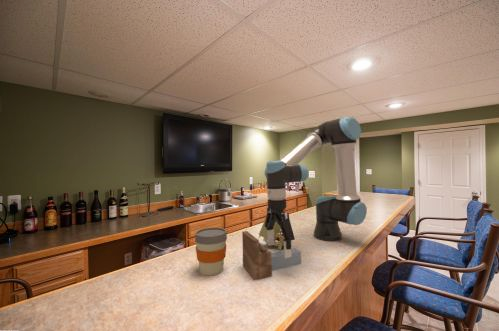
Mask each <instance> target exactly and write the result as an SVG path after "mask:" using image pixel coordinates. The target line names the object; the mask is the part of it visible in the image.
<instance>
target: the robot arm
mask: <svg viewBox="0 0 499 331" xmlns="http://www.w3.org/2000/svg"><path fill="white" fill-rule="evenodd" d="M361 135H362V129H361V125H360V123H359V121H358V120H357V119H356V118H354V117H353V116H345V117H340V118H337V119H333V120H329V121H325V122H322V123H321V124H319V125H318V126H316V127H315V128H314V129H312V130H311V131H310V132H309V133H307V135H306V136H305V137H306V138H304V139H303V140H302V141H301V142H300V143H299V144H297V145H296V146H295V147H293V148H292V149H291V150H290V151H289V152H288V153H286V154H285V155H284V156H283V157H282V158H280V159H279V160H269V161H267V162H266V165H265V166H266V168H265V169H264V176H265V178H266V194H267V208H266V216H265V218H266V220H265V219H264V221H265V227H266V229H267V234H268V245H267V246H275V245H274V230H273V229H274V228H273V226H274V224H275V222H277V224H278V225H279V226H280V228H281V229H280V230H281V231H282V233H283V236H284V240H283V241H284V247H283V251H284V258H288V257H291V249H292V241H294V240H295V239H296V237H295V233H294V230H293V227H292V224H291V220H290V213H289V212H286V213H285V210H286V208H287V199H286V198H287V190H286V189H287V188H286V185H287V184H289V183H302V182H305V181H306V180H308V177H309V169H308V168H307V166H306V165H304V164H300V163H301V162H302V161H303V160H304V159H305V158H306V157H308V156H309V155H310V154H311V153H312V152H313V151H314V150H316V149H319V148H320V147H321V146H323V145H326V144H331V147H333V149H334V151H335V165H336V166H335V167H336V179H337V180H336V181H337V191H338V192H337V193H338V194H337V195H326V196H325V195H324V196H318V197H317V198H316V200H315V215H316V217H315V218H316V219H315V220H316V223H315V226H314V230H313V237H314V238H315V239H318V240H320V241H328V242H335V241H337V242H338V241H340V240H342V238H343V234H342V232H341V228H340V225H339V222H340V223H345V224H348V225H349V226H350V225H354V226H359V225H360V224H362V223H363V222H364V221H365V220H366V216H367V212H368V211H367V210H368V209H367V208H368V207H367V205H366V204H365V203H364V202H362V201H361V196H359V194H358V191H357V180H356V179H357V178H356V167H355V154H354V153H355V152H354V147H355V146H356V145H357V140H358V139H360V138H361ZM271 229H272V230H271ZM282 233H281V234H282Z"/></svg>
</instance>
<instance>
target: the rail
mask: <svg viewBox="0 0 499 331" xmlns="http://www.w3.org/2000/svg"><path fill="white" fill-rule="evenodd" d="M271 257H272V271H276V270H281V269H285V268H289V267H293V266H297V265H301V264H302V252H301V251H300V250H298V249H297V248H291V257H288V258H284V250H278V251H275V252H271Z"/></svg>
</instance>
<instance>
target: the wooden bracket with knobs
mask: <svg viewBox="0 0 499 331" xmlns="http://www.w3.org/2000/svg"><path fill="white" fill-rule="evenodd" d="M241 234H242V235H241V236H242V266H243V268H244V269H245V270H246V272H247V273H248V274H249V276H250V277H251V278H252V279H253V280H254V281H257V280H262V279H266V278H269V277H273V270H272V257H271V253H272V251H271V250H270V249H269V248H267V247H265V246H262V243H261V242H260V239H259V238H257V237H255V236H254V235H253V234H251V233H250V232H248V231H247V230H245V231H242V232H241ZM258 239H259V240H258Z"/></svg>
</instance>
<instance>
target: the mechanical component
mask: <svg viewBox="0 0 499 331" xmlns="http://www.w3.org/2000/svg"><path fill="white" fill-rule="evenodd" d="M265 220H266V217H265V219H264V221H263V224H262V226H261V228H260V231H259V233H258V238H257V239H258V240H259V241H260V238H261V237H262V238H263V239H262V241H263V242H265V244H266V245H267V246H268V234H267V229H266V227H265ZM273 228H274V229H273V230H274V245H273V246H277V249H278V251H282V248H284V241H283V240H284V236H283V233H282V231H281V228H280V226H279V225H278V224H277V222H275V224H274V226H273ZM271 230H272V229H271Z"/></svg>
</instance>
